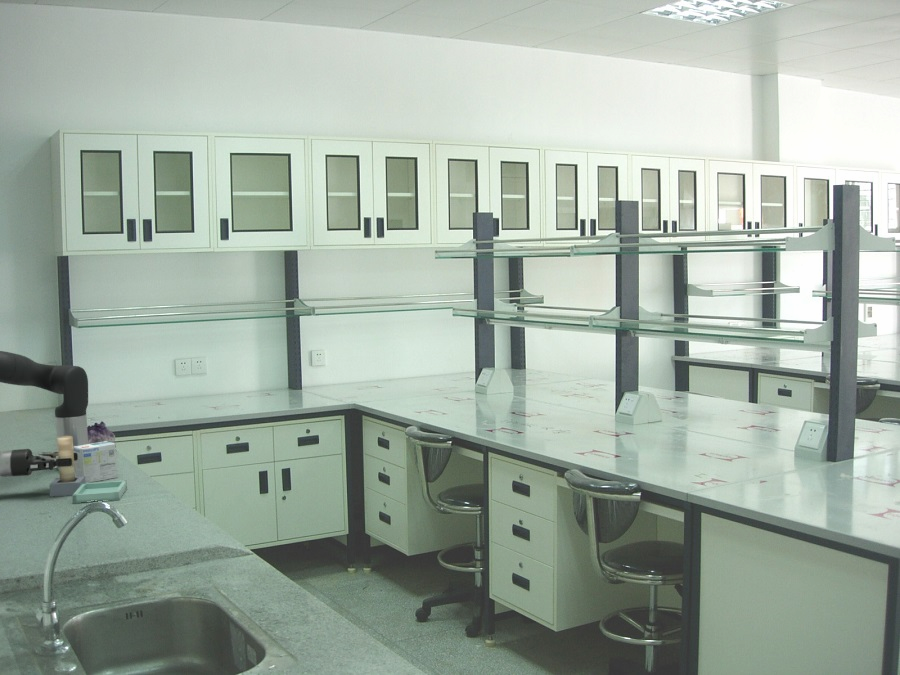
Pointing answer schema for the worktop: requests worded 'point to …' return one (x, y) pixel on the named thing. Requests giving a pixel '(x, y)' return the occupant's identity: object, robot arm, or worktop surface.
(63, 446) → the dowel
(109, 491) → the tray
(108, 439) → the geode
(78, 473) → the light bulb box
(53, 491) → the socket block
